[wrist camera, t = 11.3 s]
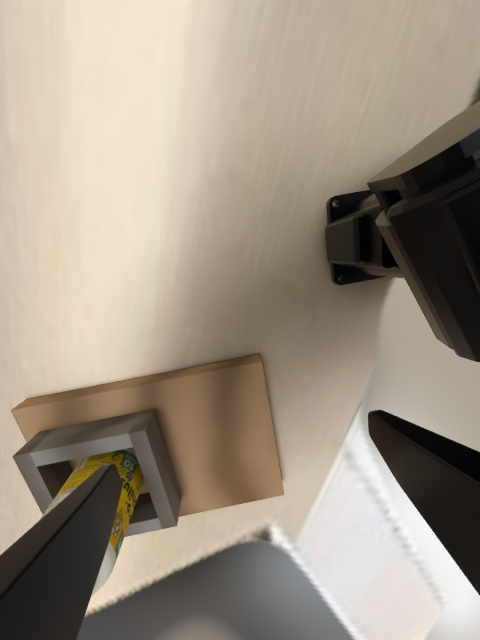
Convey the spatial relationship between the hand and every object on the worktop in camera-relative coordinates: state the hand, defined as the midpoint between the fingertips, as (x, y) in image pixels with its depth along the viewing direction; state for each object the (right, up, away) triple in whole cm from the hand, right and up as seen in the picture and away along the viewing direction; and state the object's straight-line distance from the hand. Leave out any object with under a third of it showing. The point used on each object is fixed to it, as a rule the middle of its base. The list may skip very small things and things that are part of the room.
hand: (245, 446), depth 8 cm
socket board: (-7, -7, +14) cm, 17 cm away
